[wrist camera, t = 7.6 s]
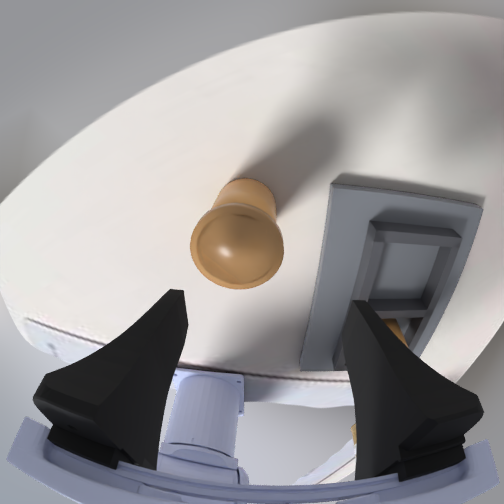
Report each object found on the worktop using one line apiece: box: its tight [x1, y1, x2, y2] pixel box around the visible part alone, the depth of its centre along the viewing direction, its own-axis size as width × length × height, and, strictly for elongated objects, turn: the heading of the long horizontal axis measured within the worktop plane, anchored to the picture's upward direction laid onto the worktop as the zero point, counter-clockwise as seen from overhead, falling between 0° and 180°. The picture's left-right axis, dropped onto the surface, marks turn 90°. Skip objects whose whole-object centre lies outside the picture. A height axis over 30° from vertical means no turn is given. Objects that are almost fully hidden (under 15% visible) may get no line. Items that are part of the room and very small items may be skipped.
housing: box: [299, 184, 483, 371], centre depth 21 cm, size 18×13×2 cm
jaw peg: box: [190, 178, 284, 289], centre depth 17 cm, size 5×5×6 cm
